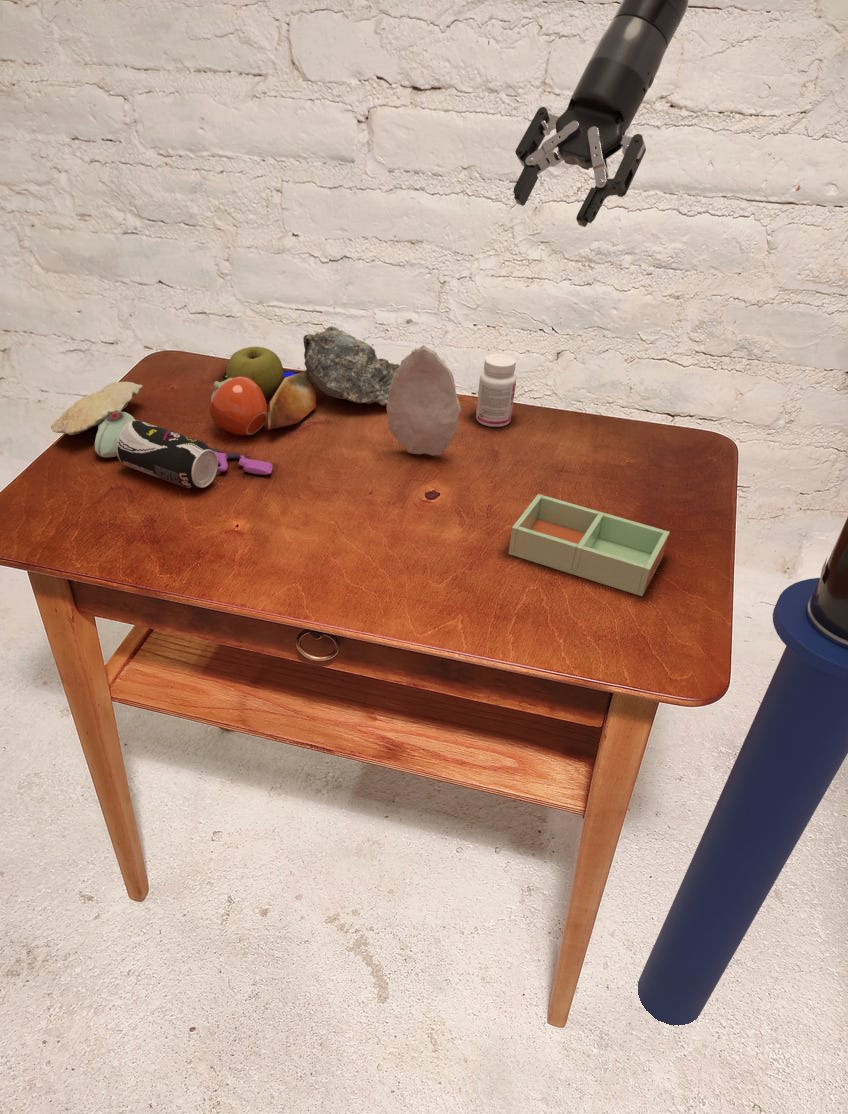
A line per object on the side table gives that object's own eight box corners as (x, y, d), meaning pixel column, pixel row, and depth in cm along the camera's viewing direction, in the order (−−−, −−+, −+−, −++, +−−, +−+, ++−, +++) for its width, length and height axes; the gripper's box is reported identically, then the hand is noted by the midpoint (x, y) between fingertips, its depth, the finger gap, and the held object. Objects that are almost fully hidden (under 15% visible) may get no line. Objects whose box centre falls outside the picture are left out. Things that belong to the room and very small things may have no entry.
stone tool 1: (91, 450, 109) (159, 398, 119) (79, 419, 106) (150, 369, 116) (41, 447, 112) (112, 397, 122) (28, 417, 110) (101, 369, 120)
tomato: (283, 412, 115) (243, 372, 117) (269, 392, 108) (225, 350, 109) (244, 452, 116) (204, 412, 117) (227, 435, 108) (184, 393, 110)
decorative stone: (256, 393, 109) (239, 401, 111) (276, 436, 111) (259, 442, 113) (313, 363, 120) (296, 370, 121) (330, 403, 121) (314, 409, 123)
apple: (220, 411, 118) (214, 361, 114) (243, 386, 124) (238, 337, 120) (272, 419, 117) (269, 368, 112) (293, 394, 123) (291, 344, 118)
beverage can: (147, 417, 108) (224, 443, 103) (142, 463, 110) (218, 490, 106) (114, 419, 103) (193, 446, 98) (109, 466, 105) (187, 495, 101)
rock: (409, 337, 114) (357, 378, 110) (415, 398, 122) (367, 439, 118) (331, 303, 120) (280, 341, 117) (342, 363, 128) (294, 401, 125)
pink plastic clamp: (280, 462, 107) (258, 478, 104) (280, 469, 108) (258, 485, 104) (144, 426, 114) (119, 439, 110) (145, 432, 115) (120, 446, 111)
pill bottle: (516, 426, 117) (524, 365, 111) (482, 429, 116) (489, 369, 110) (503, 409, 120) (511, 350, 115) (470, 413, 120) (476, 353, 114)
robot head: (129, 471, 107) (161, 435, 110) (113, 446, 104) (147, 409, 107) (83, 460, 111) (116, 425, 114) (67, 435, 108) (101, 400, 111)
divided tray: (662, 558, 95) (670, 531, 92) (642, 596, 90) (650, 569, 87) (533, 519, 100) (538, 493, 98) (508, 554, 95) (512, 527, 93)
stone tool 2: (457, 454, 111) (468, 338, 101) (455, 467, 109) (466, 350, 99) (386, 447, 112) (389, 332, 102) (382, 459, 110) (385, 343, 100)
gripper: (556, 41, 100) (488, 180, 103) (670, 69, 94) (595, 215, 97) (572, 81, 106) (507, 210, 110) (679, 110, 101) (608, 245, 104)
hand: (549, 212), depth 103 cm, fingers open, 8 cm apart
